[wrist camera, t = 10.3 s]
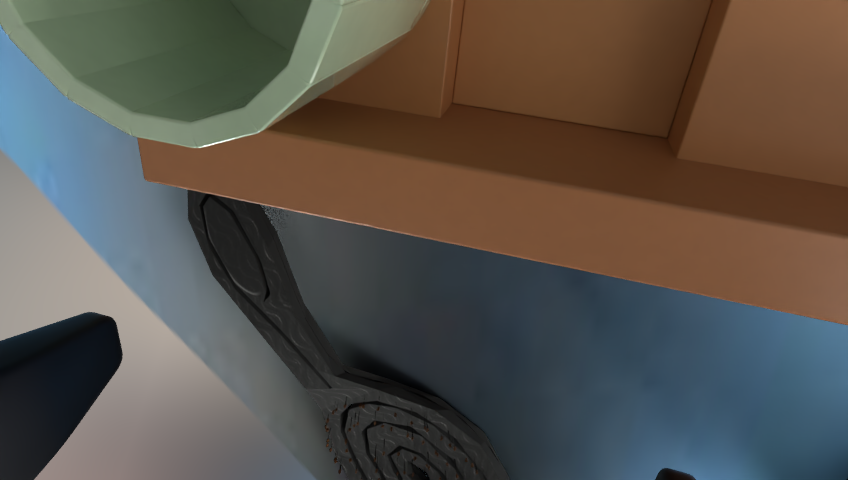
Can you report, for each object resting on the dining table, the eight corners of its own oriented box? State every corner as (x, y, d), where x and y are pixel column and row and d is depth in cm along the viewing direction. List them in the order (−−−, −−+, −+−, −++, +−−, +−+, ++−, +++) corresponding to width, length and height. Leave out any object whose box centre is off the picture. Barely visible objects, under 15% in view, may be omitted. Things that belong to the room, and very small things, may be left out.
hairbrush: (237, 139, 18) (557, 629, 25) (290, 113, 22) (562, 553, 28) (94, 228, 22) (407, 636, 29) (158, 195, 25) (426, 569, 32)
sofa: (1085, -190, 12) (1615, -320, 6) (865, 207, 17) (1030, 364, 11) (264, -243, 16) (49, -363, 9) (277, 105, 21) (143, 181, 14)
